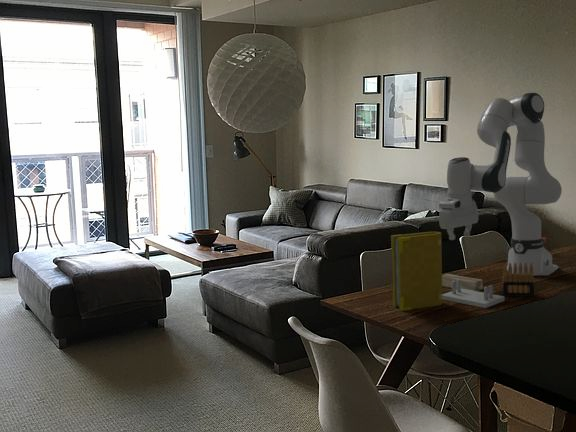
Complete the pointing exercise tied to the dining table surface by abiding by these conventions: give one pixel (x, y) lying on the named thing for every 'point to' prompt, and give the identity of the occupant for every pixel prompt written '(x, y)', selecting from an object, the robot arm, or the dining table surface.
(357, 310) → the dining table surface
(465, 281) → the tan bar
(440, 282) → the book
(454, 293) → the peg stand
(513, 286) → the ammunition clip
